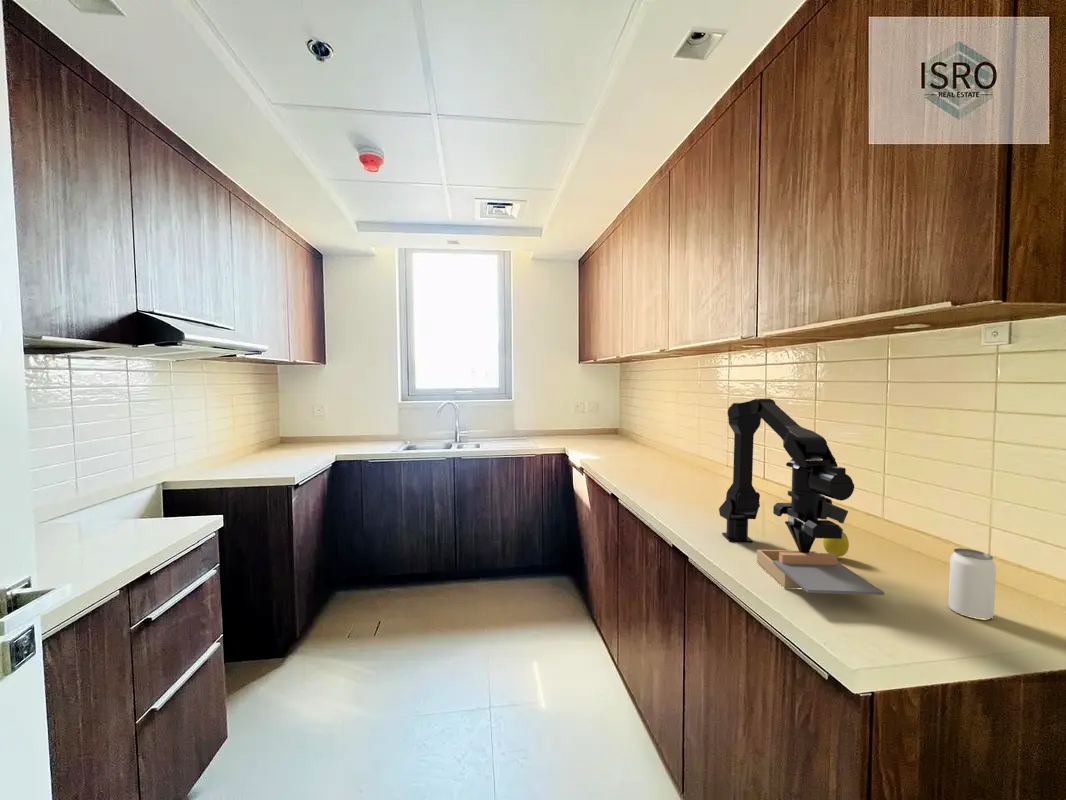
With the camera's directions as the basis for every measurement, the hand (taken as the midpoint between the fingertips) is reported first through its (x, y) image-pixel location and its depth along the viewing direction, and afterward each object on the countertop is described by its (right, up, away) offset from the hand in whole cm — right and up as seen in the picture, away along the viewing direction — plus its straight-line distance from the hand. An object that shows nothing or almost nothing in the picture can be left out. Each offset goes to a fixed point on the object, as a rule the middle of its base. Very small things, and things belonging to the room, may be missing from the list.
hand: (804, 555), depth 104 cm
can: (+24, -6, -15) cm, 29 cm away
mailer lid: (-1, -2, -8) cm, 8 cm away
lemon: (+16, -5, +13) cm, 21 cm away
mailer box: (0, -5, +2) cm, 6 cm away
